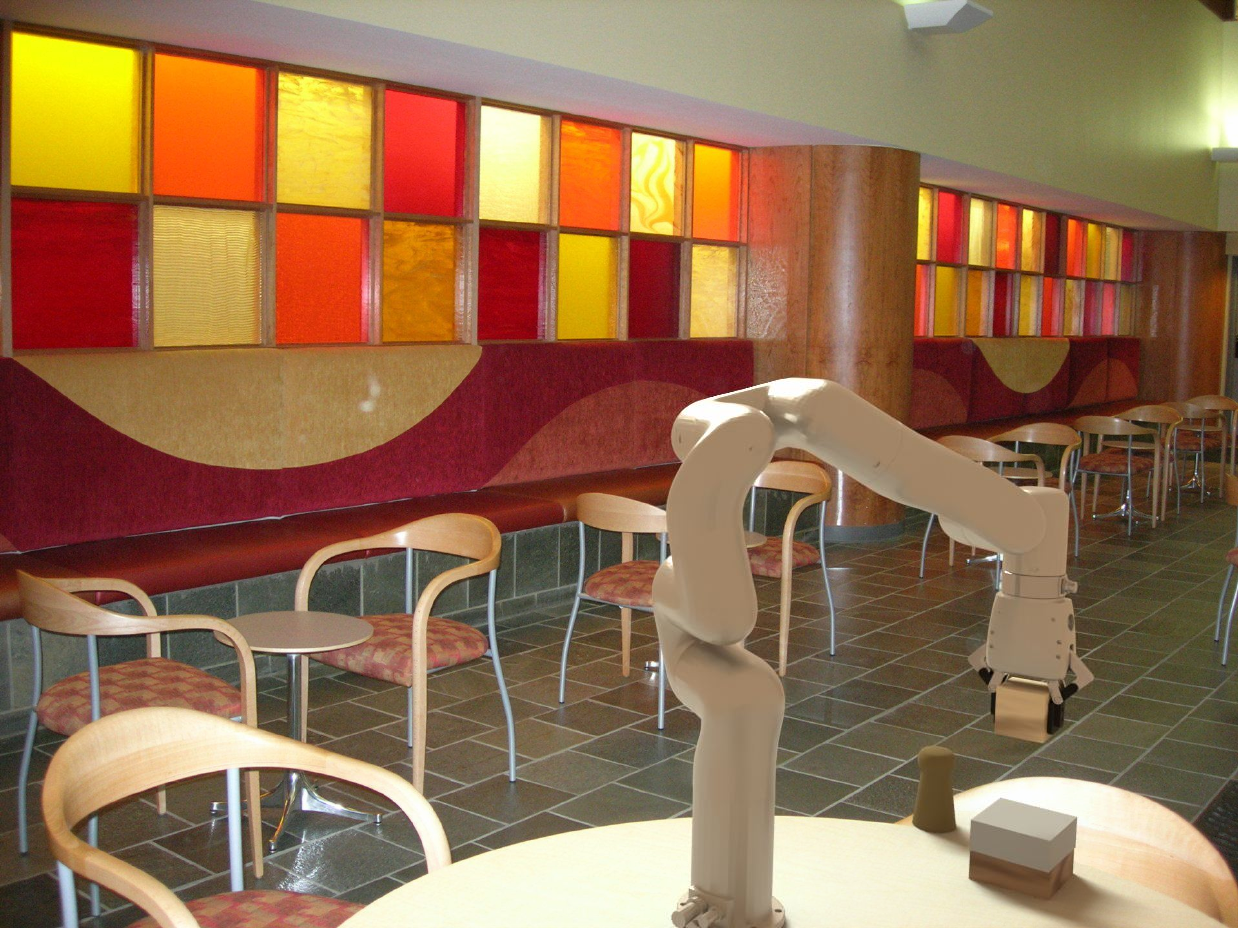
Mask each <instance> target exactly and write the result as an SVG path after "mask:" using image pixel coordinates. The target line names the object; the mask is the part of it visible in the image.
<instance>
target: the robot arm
mask: <svg viewBox="0 0 1238 928" xmlns="http://www.w3.org/2000/svg"><path fill="white" fill-rule="evenodd" d="M670 435H671V436H670V440H671V445H672V446H671V447H672V449H673V452H674V454H675V455H676V457H677V458H678V459H679V461H681V463H682V464H681V465H680V467H679V469H678V471H677V472H676V473H675V474H676V475H675V477H673V480H672V483H671V485H670V489H669V492H668V496H667V499H666V507H665V510H666V511H665V519H666V520H665V521H666V528H667V529H666V530H667V536H668V543H669V549H670V555H669V556H668V557H667V558H666V559H664V561H663V562H662V563H661V564H660V565H659V567H658V569H656V573H655V575H654V577H653V580H652V585H651V605H652V610H653V611H652V612H653V616H654V621H655V625H656V631H657V637H658V641H659V645H660V650H661V655H662V659H663V664H664V668H665V669H664V670H665V673H666V676H667V680H668V682H669V685H670V688H671V690H672V692H673V694H674V695H675V696H676V698H677V699H678V701H680V703H681V704H683V705H684V706H685V707H686V708H687V709H689V710H690V711H692V712H693V713H694V714H696V716H697V717H698V718H699V719H700V724H701V725H700V733H699V736H698V740H697V744H696V747H695V751H694V756H693V765H692V812H691V813H692V815H691V817H692V821H691V825H692V827H691V859H690V860H691V861H690V863H691V864H690V886H688V891H687V892H686V893H684V894H683V895H682V896H681V897H679V899H678V901H677V903H676V910H675V911H673V912H672V914H671V916H670V917H671V918H670V919H671V921H672V925H674V926H675V927H676V928H783V927H784V926H785V921H786V910H785V907H784V905H783V904H782V902H781V901H780V900H779V899H777V897H775V896H773V883H774V882H773V881H774V880H773V878H774V849H775V848H774V847H775V819H776V818H775V815H776V813H775V812H776V773H777V772H776V771H777V757H778V747H779V741H780V735H781V730H782V727H783V726H782V725H783V720H784V717H785V709H786V696H785V690H784V686H783V684H782V681H781V679H780V677H779V676H778V674H777V673H776V671H775V669H773V667H772V666H771V665H770V664H769V663H768V662H766V660H764V659H762V658H761V657H760V656H758V655H756V654H754V653H752V652H751V651H750V650H748V649H746V648H744V647H741V646H739V645H738V643H741V642H742V641H744V640H745V639H746V638H747V637H748V636H749V635H750V634H751V632H752V631H753V630H754V628H755V626H756V622H757V618H758V610H759V609H758V607H759V606H758V598H757V593H756V587H755V583H754V578H753V574H752V568H751V565H750V564H751V563H750V558H749V553H748V549H747V545H746V538H745V529H744V521H743V514H744V513H743V510H744V505H745V501H746V499H747V495H748V493H749V491H750V490H751V488H752V487H753V484H754V483H755V482H756V480H757V479H758V478H759V477H760V475H762V473H763V472H764V471H765V470H766V468H767V467H768V466H769V464H771V461H772V459H773V456H774V454H775V452H776V451H778V450H782V449H785V448H786V449H787V448H792V449H793V448H794V449H799V450H803V451H805V452H807V453H809V454H811V455H813V456H815V457H817V458H818V459H819V460H822V461H823V462H824V463H827V464H828V465H829V466H831V467H833V468H836V469H837V470H839V471H841V472H842V473H844V474H845V475H847V476H849V477H851V479H854V480H855V481H857V482H858V483H859V484H861V485H863V486H864V487H866V488H868V489H869V490H871V491H872V492H874V493H876V494H878V495H880V496H882V497H884V498H887V499H890V500H891V501H894V502H895V503H899V504H902V505H905V506H909V507H911V508H915V509H919V510H921V511H924V512H928V513H931V514H933V515H936V516H937V518H938V522H939V525H940V527H941V529H942V531H943V533H944V534H946V535H947V536H948V537H949V538H951V539H952V540H954V541H955V542H957V543H960V544H963V545H965V546H969V547H972V548H973V547H974V548H978V549H982V550H986V551H990V552H994V553H998V554H1000V555H1002V566H1001V568H1002V569H1001V570H1002V571H1001V590H1000V591H997V592H996V594H995V596H994V601H993V604H992V609H991V614H990V619H989V623H988V630H987V636H986V637H987V638H986V641H985V642H984V643H983V644H982V645H981V646H980V647H978V648H977V649H976V650H975V651H974V652H972V653H971V654H970V655H969V656H967V662H968V663H969V664H970V665H971V667H972V668H973V669H974V670H975V671H976V672H977V673H978V676H979V678H981V680H982V681H983V682H984V683H985V685H986V686H987V689H988V691H989V692H990V715H992V716H993V719H992V721H993V724H994V725H995V709H996V687H997V686H999V685H1000V684H1002V683H1003V682H1005V681H1007V680H1008V679H1009V677H1010V675H1012V676H1013V675H1015V676H1020V677H1025V678H1031V679H1036V680H1037V679H1038V680H1042V681H1043V680H1044V681H1045V683H1047V685H1048V688H1049V691H1050V694H1051V702H1050V703H1049V704H1048V719H1047V733H1048V734H1049V735H1052V736H1054V735H1055V734H1056V733H1057V732H1059V730H1060V729H1062V728H1063V726H1064V723H1065V705H1066V704H1065V703H1066V700H1068V699H1069V698H1071V696H1073V695H1074V694H1076V693H1077V692H1078V691H1080V690H1082V689H1083V688H1084V687H1085V686H1087V685H1089V684H1090V683H1091V682H1093V681H1094V679H1095V676H1094V674H1093V673H1092V672H1091V670H1089V668H1088V667H1087V666H1086V664H1085V663H1084V662H1083V661H1082V660H1081V658H1080V657H1078V655H1077V650H1076V649H1077V646H1076V645H1077V642H1076V641H1077V639H1076V626H1075V625H1076V624H1075V623H1076V621H1075V613H1074V605H1073V602H1072V601H1073V600H1072V599H1071V598H1069V597H1065V596H1066V595H1067V594H1070V593H1073V594H1076V593H1077V590H1078V582H1077V581H1072V580H1071V579H1069V577H1068V574H1067V561H1068V560H1067V558H1068V556H1067V555H1068V539H1069V538H1068V537H1069V519H1070V500H1069V499H1070V498H1069V495H1068V493H1066V492H1065V491H1064V490H1061V488H1055V487H1048V486H1034V485H1033V486H1032V485H1026V486H1024V485H1023V486H1018V485H1016V484H1015V483H1013V481H1010V480H1009V479H1007V478H1005V477H1004V476H1002V475H1000V473H997V472H995V471H994V470H993V469H990V468H988V467H986V466H984V465H983V464H981V463H979V462H976V461H974V460H972V459H970V458H969V457H967V456H964V455H962V454H961V453H958V452H956V451H954V450H952V449H950V448H948V447H947V446H945V445H943V444H940V443H939V442H937V441H935V440H934V439H930V438H928V437H926V436H924V435H922V434H920V433H919V432H917V431H915V430H914V429H912V428H910V427H908V426H906V424H903V423H902V422H900V421H899V420H897V419H896V418H895V417H892V416H891V415H889V414H888V413H886V412H885V411H883V410H881V409H880V408H878V407H877V406H875V405H873V404H872V403H870V402H869V401H867V400H865V399H864V398H863V397H861V396H860V395H858V394H857V393H855V392H853V391H851V390H850V389H848V387H847V388H846V387H845V386H843V385H841V384H840V383H838V382H835V381H832V380H828V379H825V378H824V379H823V378H807V377H788V378H783V379H777V380H774V381H771V382H767V383H763V384H759V385H756V386H752V387H751V386H750V387H748V388H744V389H740V390H735V391H733V392H729V393H724V394H720V395H716V396H713V397H708V398H705V399H700V400H698V401H695V402H693V403H691V404H690V405H688V406H687V407H685V408H684V409H683V410H682V411H680V413H679V414H678V415H677V417H676V418H675V420H674V422H673V425H672V429H671V433H670ZM1073 673H1074V674H1075V675H1076V679H1074V680H1073V681H1071V682H1070V683H1069V684H1068V685H1066V682H1065V680H1064V679H1066V676H1067V675H1071V674H1073ZM1053 734H1054V735H1053Z"/></svg>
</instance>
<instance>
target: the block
mask: <svg viewBox="0 0 1238 928" xmlns="http://www.w3.org/2000/svg"><path fill="white" fill-rule="evenodd" d="M1050 702H1051V694H1050V691H1049V688H1048V685H1047V682H1043V681H1039V680H1031V679H1026V678H1021V677H1015V676H1011V677H1010V678H1007V680H1006V681H1005V682H1003V683H1002V684H1000V685H999V686H997V687H996V709H995V724H994V734H995V735H999V736H1005V737H1010V738H1014V739H1020V740H1024V741H1030V742H1033V743H1034V742H1035V743H1040V744H1044V743H1045V742H1047V741H1048V740H1049V739H1050V738H1051V737H1052V736H1054V735H1055V734H1053V735H1049V734H1048V733H1047V719H1048V704H1049V703H1050Z"/></svg>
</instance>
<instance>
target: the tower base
mask: <svg viewBox="0 0 1238 928" xmlns="http://www.w3.org/2000/svg"><path fill="white" fill-rule="evenodd" d="M968 861H969V862H968V863H969V864H968V879H969V880H973V881H977V882H981V883H983V884H987V885H991V886H995V887H997V886H998V888H1001V889H1005V890H1008V891H1011V892H1015V893H1018V894H1019V893H1020V894H1023V895H1026V896H1030V897H1033V898H1035V899H1036V898H1038V899H1039V900H1040V899H1041V900H1044V901H1047V902H1049V901H1050V900H1052V898H1053V897H1054V896H1055V895H1056V893H1057V892H1058V891H1059V890H1060V889H1061V887H1062V886H1063V885H1064V884H1065V883H1066V882H1067V881H1068V879H1070V878H1071V876H1072V875H1073V874H1074V864H1075V863H1074V862H1075V848H1074V849H1073V850H1072V851H1071V852H1070V853H1069V854H1068V855H1067V856H1066V857H1065V858H1064V859H1063V860H1062V861H1061V862H1060V863H1058V864H1057V865H1056V866H1055V867H1054V868H1053V869H1052V870H1051V871H1050V872H1049V873H1047V872H1044V871H1040V870H1037V869H1033V868H1030V867H1026V866H1023V865H1019V864H1016V863H1012V862H1009V861H1005V860H1002V859H998V858H995V857H991V856H988V855H984V854H981V853H977V852H974V851H970V850H969V860H968ZM1053 895H1054V896H1053Z"/></svg>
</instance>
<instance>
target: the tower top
mask: <svg viewBox="0 0 1238 928" xmlns="http://www.w3.org/2000/svg"><path fill="white" fill-rule="evenodd" d="M969 826H970V828H969V831H970V832H969V849H968V850H969V852H970V851H974V852H977V853H981V854H984V855H988V856H991V857H995V858H998V859H1002V860H1005V861H1009V862H1012V863H1016V864H1019V865H1023V866H1026V867H1030V868H1033V869H1037V870H1040V871H1044V872H1047V873H1049V872H1050V871H1051V870H1052V869H1053V868H1054V867H1055V866H1056V865H1057V864H1058V863H1060V862H1061V861H1062V860H1063V859H1064V858H1065V857H1066V856H1067V855H1068V854H1069V853H1070V852H1071V851H1072V850H1073V849H1074V850H1075V849H1076V846H1077V832H1078V831H1077V829H1078V828H1077V827H1078V816H1075V815H1071V814H1068V813H1063V812H1059V811H1056V810H1050V809H1048V808H1047V809H1046V808H1043V807H1040V806H1036V805H1031V804H1029V803H1028V804H1027V803H1023V802H1019V801H1015V800H1011V799H1007V798H1003V797H1000V798H998V799H996V801H994V802H992V803H991V804H990V805H989V806H988V807H986V808H985V809H984V810H982V811H981V812H979V813H978V814H976V816H973V818H971V819H970V825H969Z"/></svg>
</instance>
